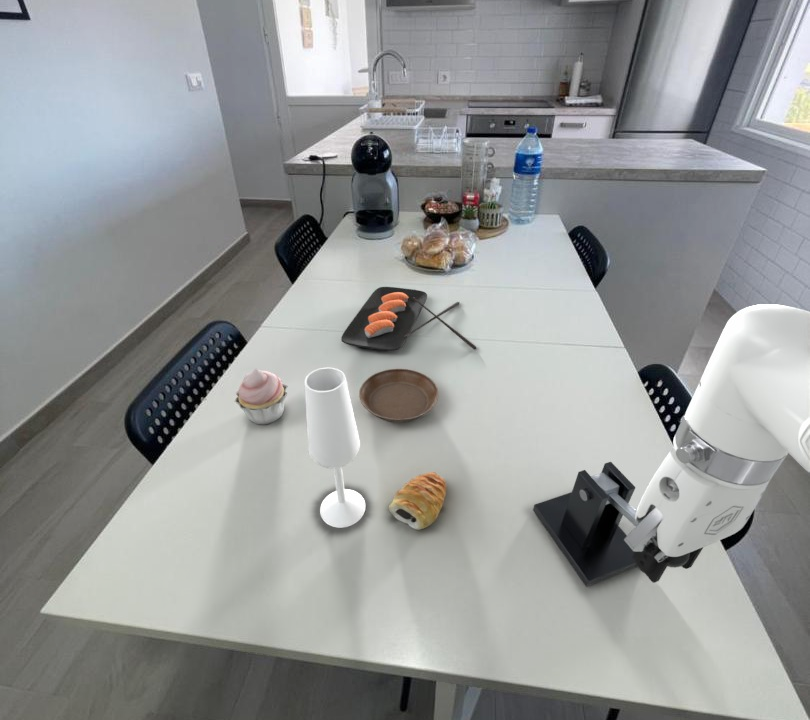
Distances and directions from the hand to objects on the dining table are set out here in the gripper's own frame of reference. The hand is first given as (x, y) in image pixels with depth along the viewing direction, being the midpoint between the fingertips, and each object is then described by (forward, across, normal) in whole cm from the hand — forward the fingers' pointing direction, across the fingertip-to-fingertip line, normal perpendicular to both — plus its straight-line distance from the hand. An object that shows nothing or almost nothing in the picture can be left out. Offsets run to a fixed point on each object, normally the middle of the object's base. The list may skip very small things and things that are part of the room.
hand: (661, 562), depth 49 cm
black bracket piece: (+9, 0, +10) cm, 13 cm away
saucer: (+9, -15, +45) cm, 48 cm away
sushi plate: (+8, -1, +70) cm, 71 cm away
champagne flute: (+9, -30, +26) cm, 41 cm away
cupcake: (+8, -39, +51) cm, 65 cm away
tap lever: (0, 0, +4) cm, 4 cm away
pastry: (+9, -20, +22) cm, 31 cm away
